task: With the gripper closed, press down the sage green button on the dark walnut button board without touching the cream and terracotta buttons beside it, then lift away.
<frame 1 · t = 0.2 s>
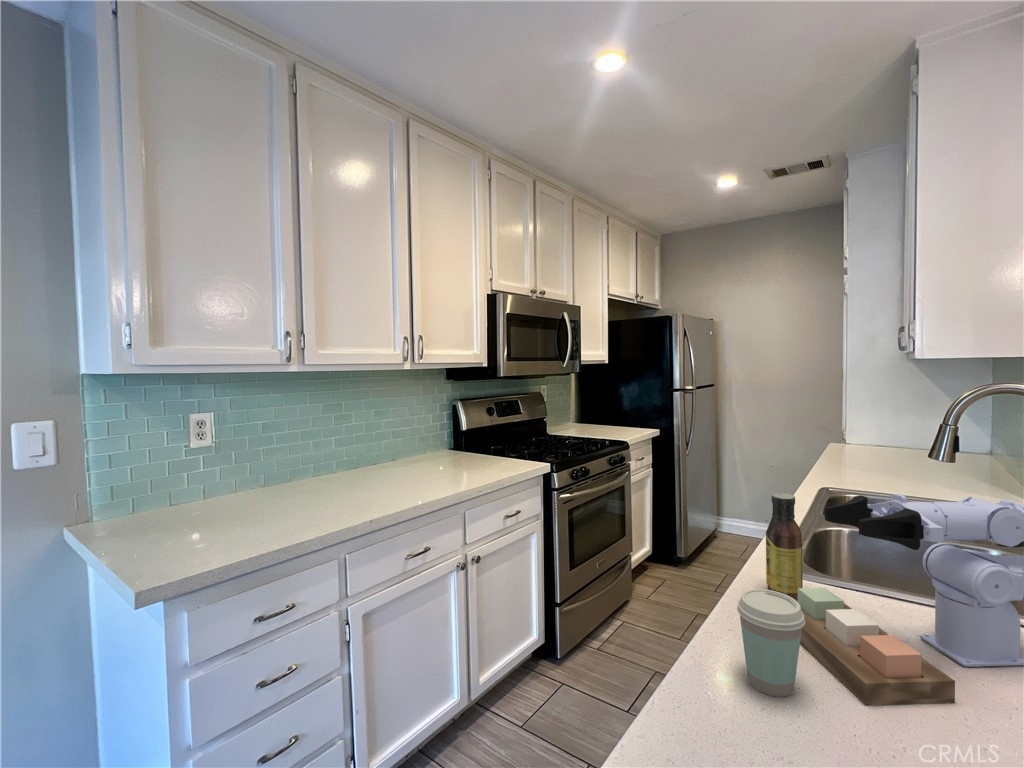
hand: (842, 520, 75), 21 cm above the worktop, tool horizontal, fingers open, 7 cm apart
cream button: (851, 629, 75), point 4 cm above the worktop, slide at 0.0 cm
sauce bottle: (784, 595, 95), on the worktop
sage green button: (820, 605, 83), point 4 cm above the worktop, slide at 0.0 cm
walnut button board: (851, 654, 75), on the worktop
terracotta button: (889, 658, 68), point 4 cm above the worktop, slide at 0.0 cm
coffee cup: (770, 684, 69), on the worktop
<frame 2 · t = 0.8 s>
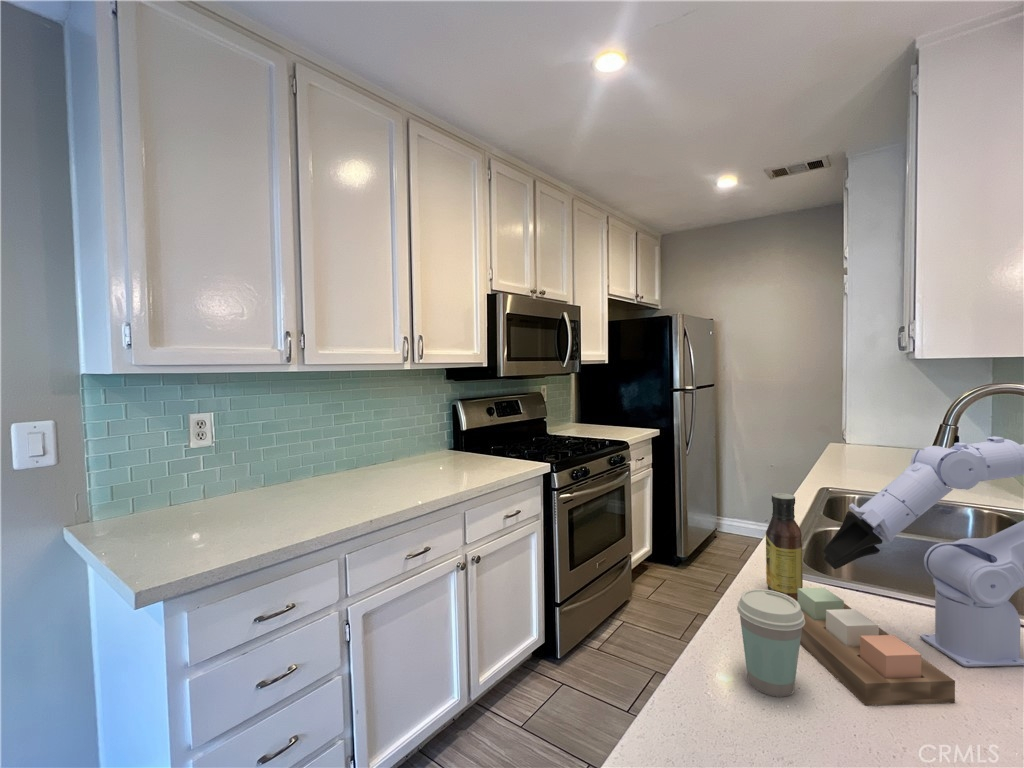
hand: (829, 560, 77), 14 cm above the worktop, tool tilted 50°, fingers open, 7 cm apart
nothing on the worktop moved.
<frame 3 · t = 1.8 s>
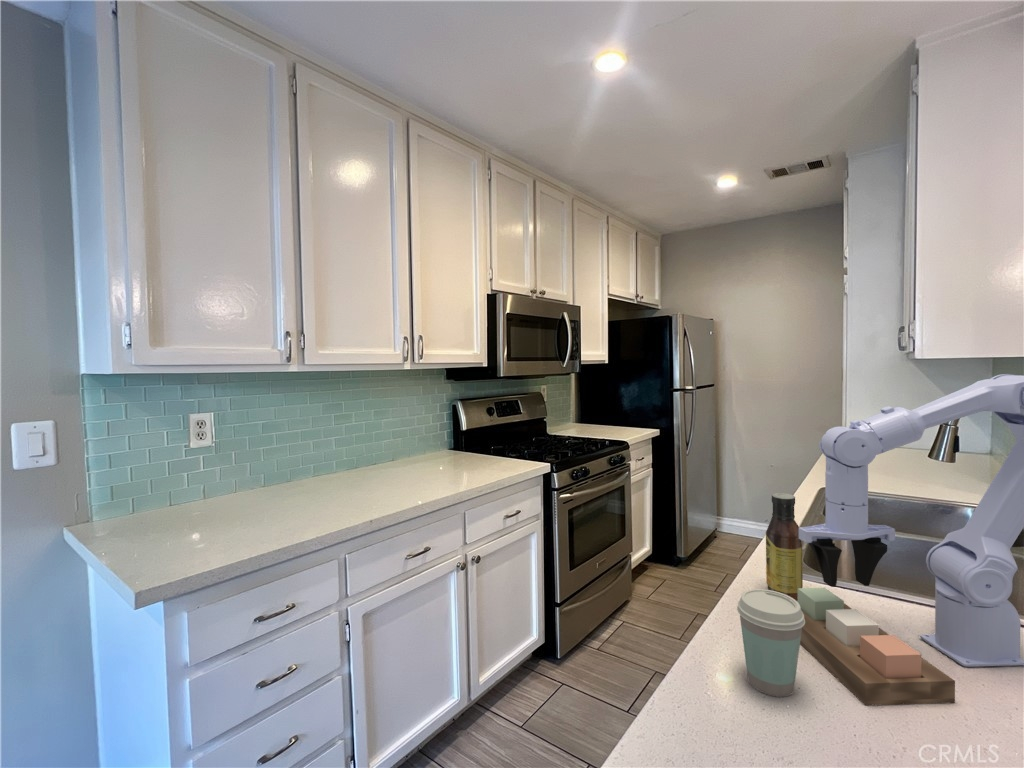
hand: (846, 583, 79), 9 cm above the worktop, tool pointing down, fingers open, 5 cm apart
nothing on the worktop moved.
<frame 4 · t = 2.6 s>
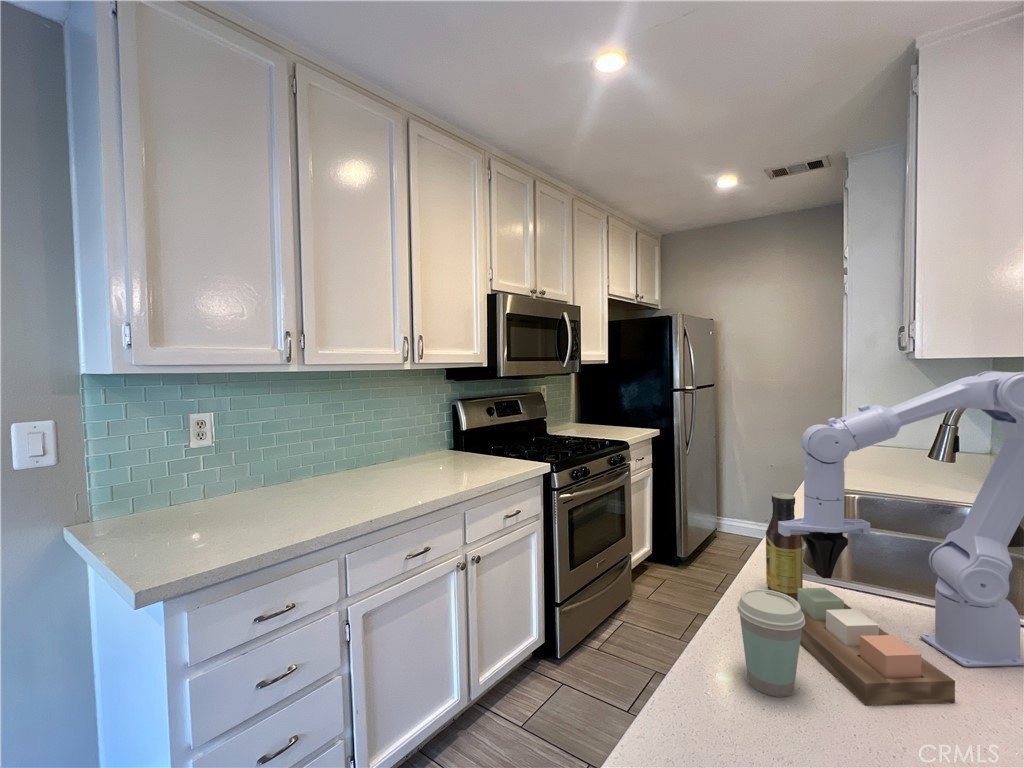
hand: (823, 575, 82), 9 cm above the worktop, tool pointing down, fingers closed
nothing on the worktop moved.
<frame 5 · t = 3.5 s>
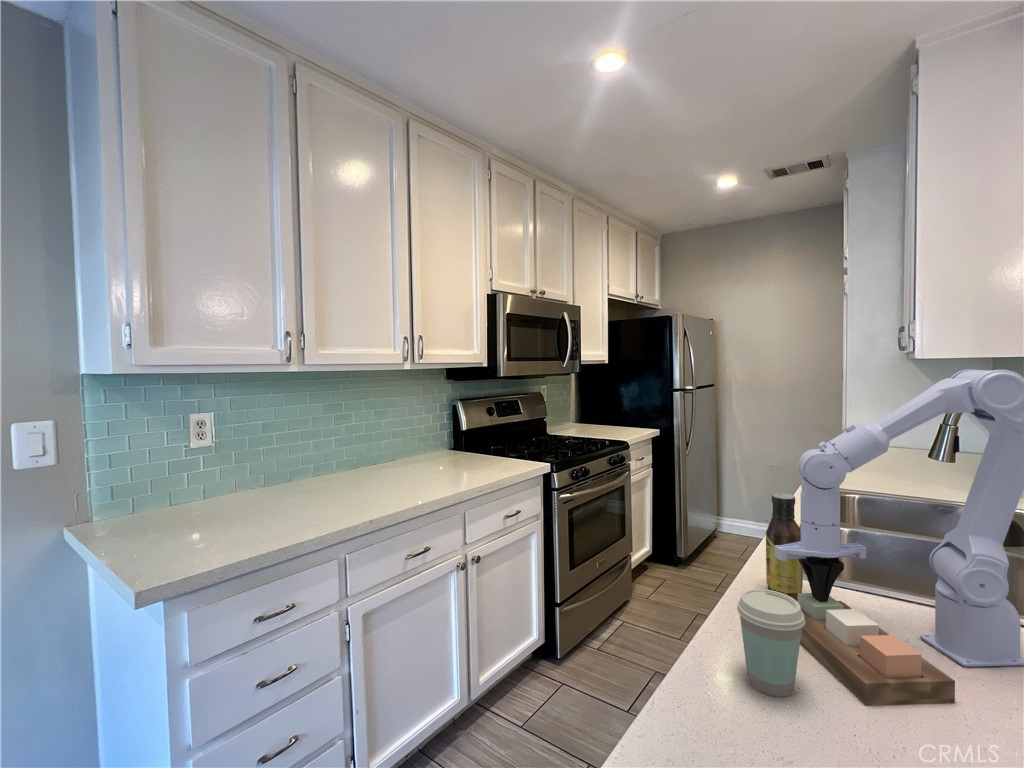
hand: (819, 599, 83), 5 cm above the worktop, tool pointing down, fingers closed, pressing on sage green button
sage green button: (820, 610, 83), point 3 cm above the worktop, slide at 0.8 cm, touching gripper
everything else where it was.
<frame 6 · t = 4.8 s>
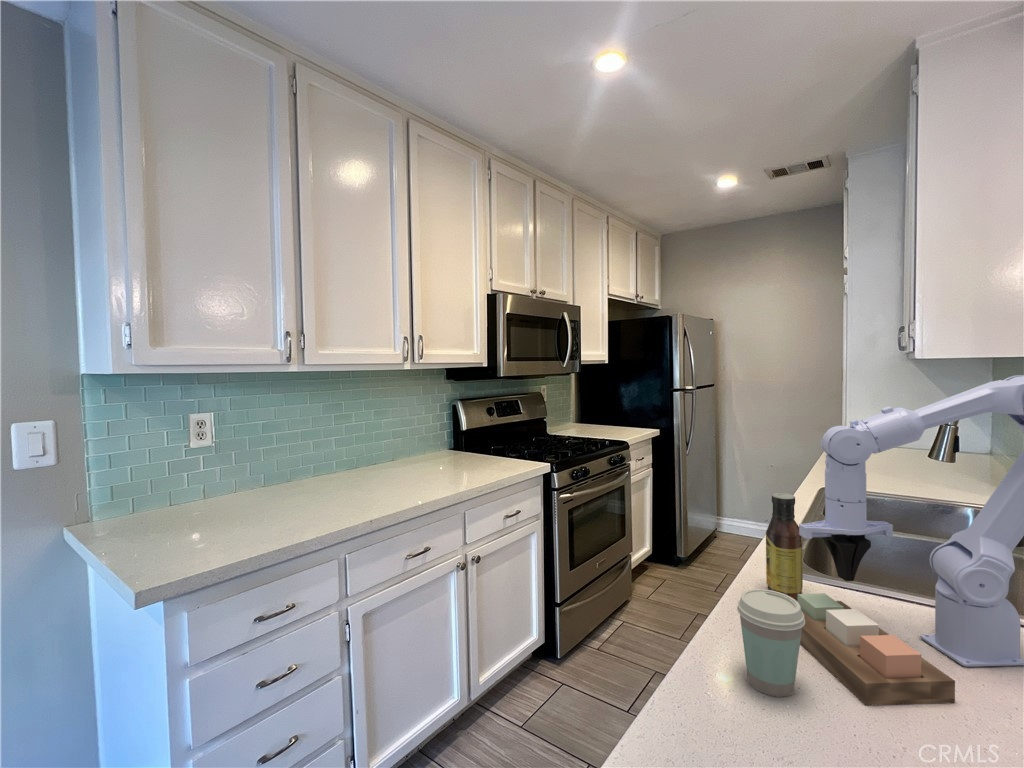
hand: (845, 578, 81), 9 cm above the worktop, tool pointing down, fingers closed
sage green button: (820, 611, 83), point 3 cm above the worktop, slide at 1.0 cm
everything else where it was.
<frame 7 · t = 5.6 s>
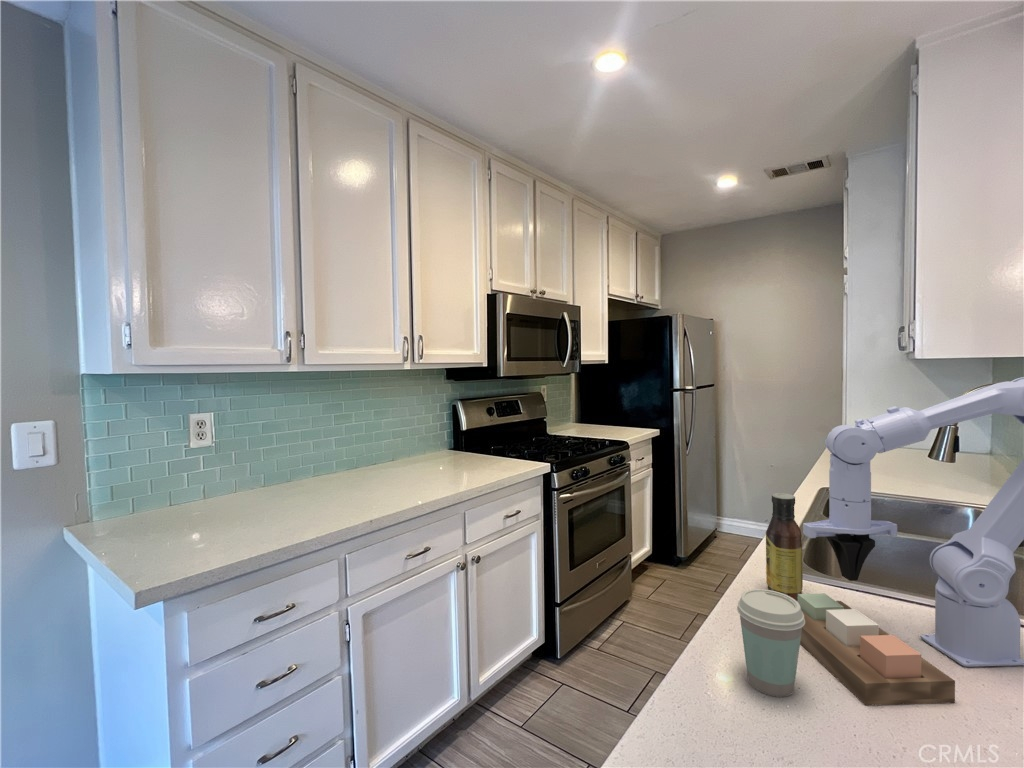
hand: (849, 578, 81), 9 cm above the worktop, tool pointing down, fingers closed
nothing on the worktop moved.
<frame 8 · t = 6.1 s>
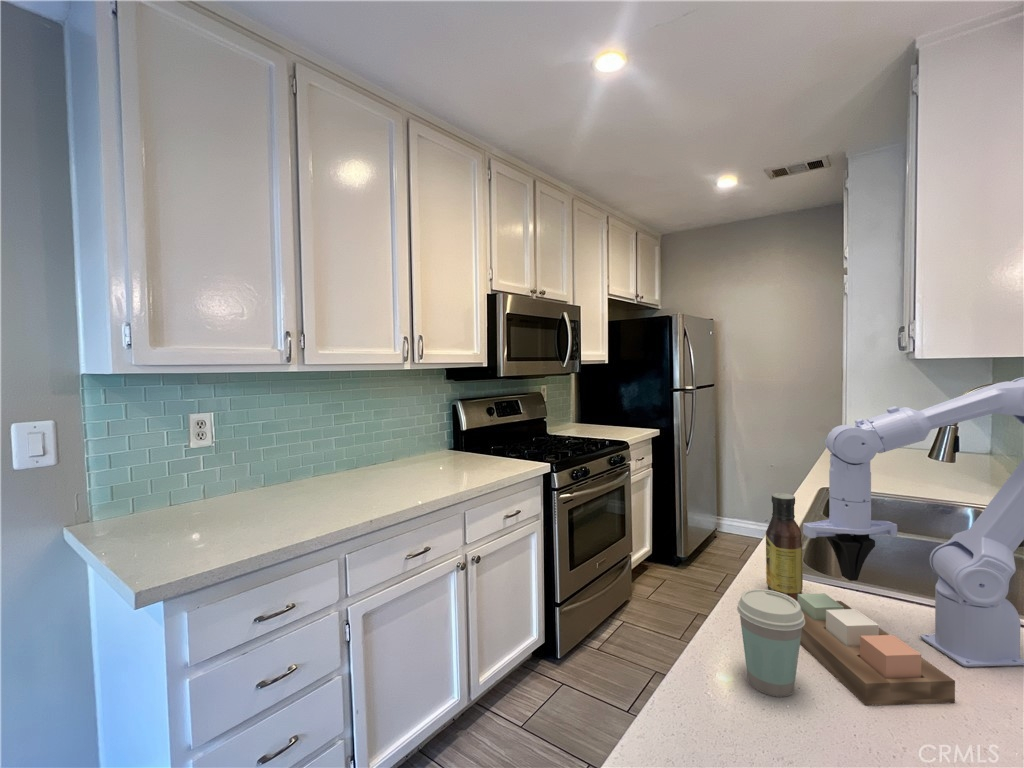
hand: (849, 578, 81), 9 cm above the worktop, tool pointing down, fingers closed
nothing on the worktop moved.
at the end: sage green button slide at 1.0 cm; cream button slide at 0.0 cm; terracotta button slide at 0.0 cm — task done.
